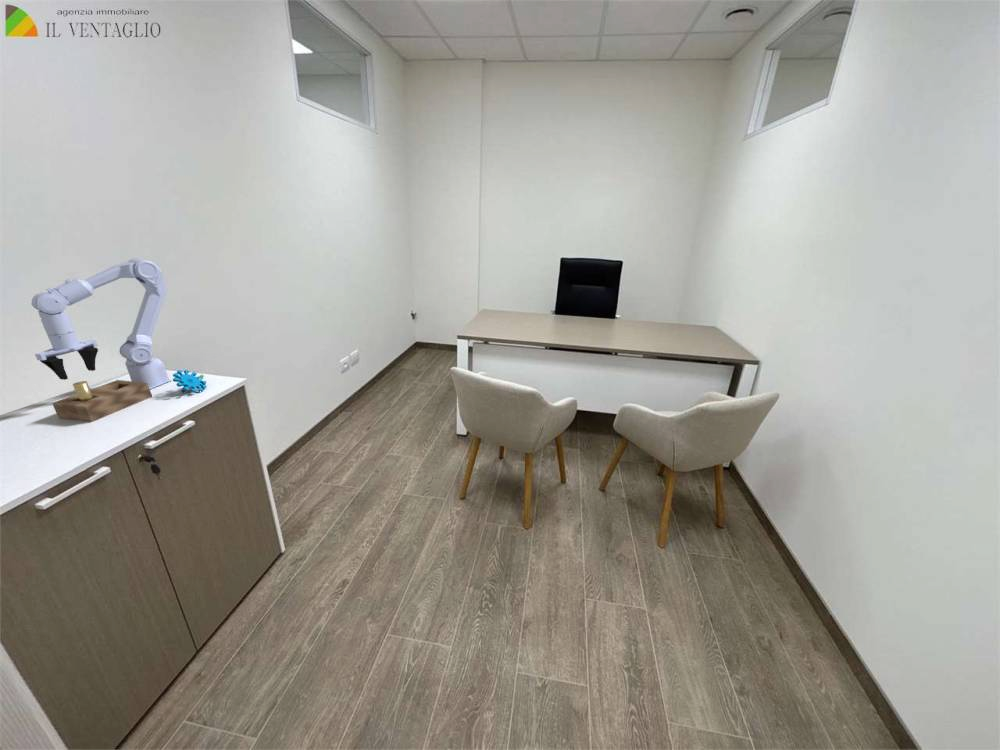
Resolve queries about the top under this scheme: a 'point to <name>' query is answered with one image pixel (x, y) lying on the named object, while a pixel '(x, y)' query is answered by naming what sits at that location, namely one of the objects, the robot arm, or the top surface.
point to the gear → (189, 381)
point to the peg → (83, 391)
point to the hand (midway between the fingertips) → (78, 374)
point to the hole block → (103, 401)
